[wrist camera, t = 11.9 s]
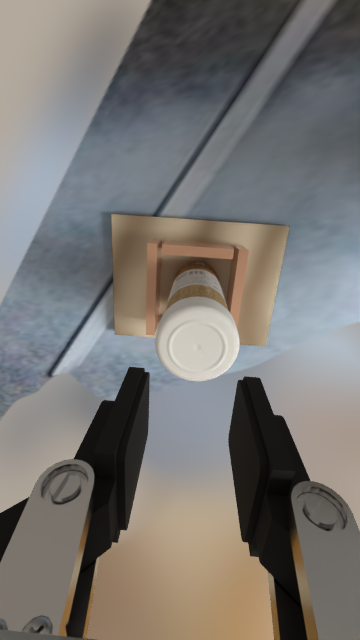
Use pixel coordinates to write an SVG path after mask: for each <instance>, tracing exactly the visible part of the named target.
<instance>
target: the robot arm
mask: <svg viewBox="0 0 360 640" xmlns="http://www.w3.org/2000/svg"><path fill="white" fill-rule="evenodd" d="M149 378H150V374H149V372H145V370H144V368H136V367H129V369H128V371H127V374H126V376H125V378H124V381H123V383H122V385H121V388H120V390H119V392H118V395H117V397H116V399H115V401H107V400H104V401H102V403H101V405H100V406H99V409H98V411H97V413H96V415H95V417H94V419H93V421H92V423H91V425H90V427H89V429H88V431H87V433H86V435H85V437H84V439H83V442H82V443H81V445H80V447H79V449H78V451H77V453H76V455H75V457H74V459H71V460H64V461H61V462H58V463H56V464H54V465H53V466H51V467H49V468H48V469H47V470H46V471H45V472H44V473H43V474H42V475H41V476H40V477H39V479H38V480H37V482H36V484H35V486H34V488H33V490H32V493H31V495H30V497H28V498H27V499H25V500H23V501H21V502H19V503H18V504H16V505H14V506H13V507H11V508H9V509H7V510H5V511H4V512H2V513H0V640H94V639H86V638H87V631H88V626H89V620H90V614H91V608H92V602H93V596H94V589H95V584H96V578H97V572H98V566H99V560H100V556H101V555H102V554H103V553H104V552H106V551H107V550H108V549H109V548H111V545H112V542H116V543H117V542H118V539H119V535H120V530H127V528H128V523H129V519H130V514H131V509H132V505H133V500H134V495H135V491H136V486H137V482H138V477H139V473H140V468H141V464H142V459H143V454H144V450H145V445H146V440H147V435H148V418H149ZM229 450H230V457H231V465H232V471H233V480H234V487H235V494H236V501H237V508H238V515H239V523H240V530H241V537H242V541H243V542H248V544H249V551H250V556H255V557H259V561H260V563H261V564H262V565H263V566H264V567H265V568H266V569H267V571H268V578H269V590H270V600H271V611H272V622H273V631H274V640H360V531H359V529H358V526H357V523H356V521H355V519H354V516H353V513H352V511H351V510H350V508H349V506H348V504H347V503H346V502H345V501H344V500H343V499H342V497H340V495H338V494H337V493H336V492H335V491H333V490H332V489H330V488H329V487H327V486H325V485H323V484H320V483H317V482H313V481H310V479H309V476H308V474H307V472H306V469H305V467H304V465H303V462H302V460H301V458H300V455H299V453H298V451H297V448H296V445H295V443H294V441H293V438H292V436H291V434H290V431H289V429H288V427H287V424H286V422H285V420H284V418H283V417H282V416H280V415H279V416H278V415H274V414H273V411H272V409H271V406H270V403H269V401H268V398H267V396H266V393H265V390H264V387H263V385H262V382H261V379H260V378H256V377H244V378H243V380H238V383H237V389H236V395H235V401H234V407H233V414H232V419H231V426H230V431H229Z"/></svg>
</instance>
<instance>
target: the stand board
mask: <svg viewBox="0 0 360 640" xmlns="http://www.w3.org/2000/svg"><path fill="white" fill-rule="evenodd" d="M111 220H112V255H113V290H114V325H115V334H116V335H129V336H141V337H154V338H156V334H157V330H158V326H159V323H160V320H161V317H162V316H163V314H164V313H165V311H166V308H167V304H168V299H169V295H170V292H171V289H172V286H173V279H174V277H175V275H176V273H177V271H178V270H179V269H180V268H181V267H182V266H184V265H186V264H188V263H191V262H202V263H205V264H207V265H209V266H211V267H212V268H213V269H214V270H215V271H216V273H217V275H218V277H219V283H220V286H221V289H222V292H223V295H224V298H225V301H226V299H227V292H228V284H229V276H230V269H231V261H232V259H220V258H207V257H193V256H179V255H165V254H162V259H161V286H160V313H159V323H158V326H157V329H156V333H155V336H153V335H146V297H147V243H148V242H150V241H151V240H153V239H162V244H163V243H164V242H165V241H166V240H176V241H190V242H205V243H219V244H230V246H231V247H232V248H233V246H234V245H243V246H244V247H245V248H247V249H248V250H249V254H248V261H247V268H246V274H245V281H244V287H243V294H242V300H241V307H240V314H239V320H238V327H237V331H238V335H239V344H241V345H253V346H266V342H267V337H268V332H269V327H270V322H271V317H272V312H273V307H274V302H275V297H276V292H277V287H278V282H279V277H280V272H281V267H282V262H283V256H284V251H285V246H286V241H287V236H288V231H289V226H284V225H270V224H255V223H240V222H226V221H211V220H196V219H182V218H167V217H152V216H138V215H123V214H111Z"/></svg>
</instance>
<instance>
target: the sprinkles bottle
mask: <svg viewBox="0 0 360 640" xmlns="http://www.w3.org/2000/svg"><path fill="white" fill-rule="evenodd" d="M156 351H157V354H158V357H159V359H160V361H161V363H162V364H163V365H164V366H165V368H166V369H167V370H168V371H170V372H171V373H172V374H174V375H176V376H178V377H180V378H182V379H185V380H190V381H205V380H209V379H213V378H215V377H218V376H219V375H221V374H223V373H224V372H225V371H227V370H228V369H229V368H230V367H231V365H232V364H233V363H234V361H235V359H236V357H237V355H238V351H239V335H238V331H237V327H236V324H235V321H234V319H233V317H232V315H231V314H230V312H229V311H228V308H227V304H226V301H225V298H224V295H223V292H222V289H221V286H220V283H219V277H218V275H217V273H216V271H215V270H214V269H213V268H212V267H211V266H209V265H207V264H205V263H202V262H191V263H188V264H186V265H184V266H182V267H181V268H180V269H179V270H178V271H177V273H176V275H175V277H174V279H173V286H172V289H171V292H170V295H169V299H168V304H167V308H166V311H165V313H164V314H163V316H162V317H161V320H160V323H159V326H158V330H157V334H156Z"/></svg>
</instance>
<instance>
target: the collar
mask: <svg viewBox="0 0 360 640" xmlns="http://www.w3.org/2000/svg"><path fill="white" fill-rule="evenodd" d="M162 254H165V255H179V256H193V257H207V258H220V259H232V261H231V269H230V276H229V284H228V292H227V299H226V304H227V308H228V311H229V312H230V314H231V315H232V317H233V319H234V321H235V324H236V327H238V320H239V314H240V307H241V300H242V294H243V287H244V281H245V274H246V268H247V261H248V254H249V250H248V249H247V248H245V247H244V246H243V245H234V246H233V248H232V247H231V246H230V244H219V243H205V242H190V241H176V240H166V241H165V242H164V243H163V244H162V239H153V240H151V241H150V242H148V243H147V297H146V335H153V336H155V333H156V329H157V326H158V323H159V313H160V286H161V259H162Z"/></svg>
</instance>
